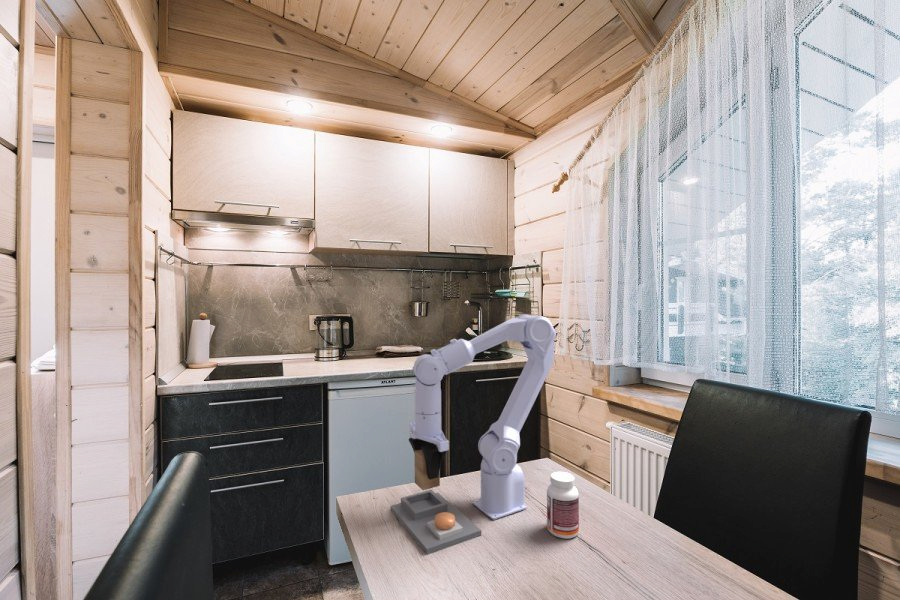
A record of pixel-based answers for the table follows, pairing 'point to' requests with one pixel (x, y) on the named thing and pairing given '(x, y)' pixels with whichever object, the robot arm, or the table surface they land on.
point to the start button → (444, 520)
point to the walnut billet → (423, 473)
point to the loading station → (432, 521)
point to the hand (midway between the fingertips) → (428, 473)
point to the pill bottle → (562, 506)
